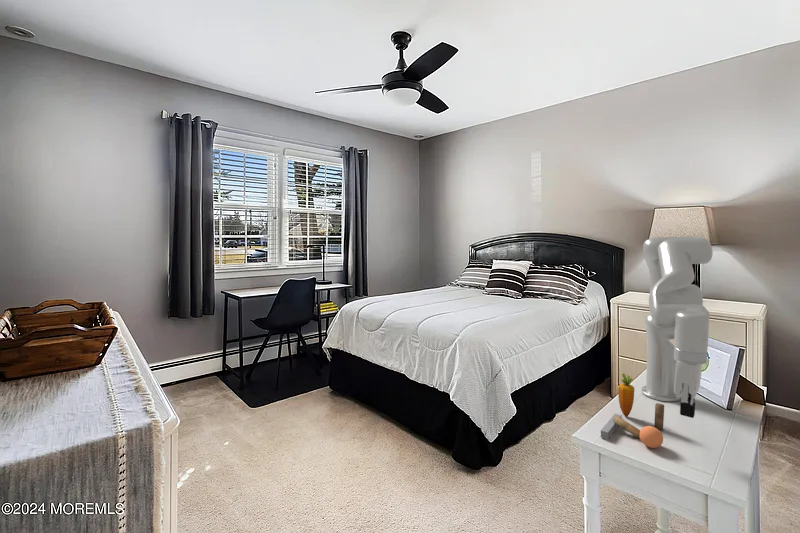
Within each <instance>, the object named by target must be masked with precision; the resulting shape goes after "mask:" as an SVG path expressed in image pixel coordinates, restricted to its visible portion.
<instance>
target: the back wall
mask: <svg viewBox="0 0 800 533" xmlns="http://www.w3.org/2000/svg"><path fill="white" fill-rule="evenodd" d="M616 415H617V416H619V417H621V418H622V419H623V416H622V415H623V414H618V413H614V414H612V417H611V418H610V419H609V420H608V421H607V423H605V425H604V426H603V427H602V428H601V430H600V438H601V437H602V438H604V439H603V440H605V439H607V440H606V441H608V440H609V439H610V438H611V437H612V435H613V434H614V433H615V431H617V429H618V428H619V427H620V426H619V425H618V424H616V423H615V422H613V419H614V417H615V416H616ZM610 436H611V437H610ZM609 437H610V438H609ZM602 438H601V439H602Z"/></svg>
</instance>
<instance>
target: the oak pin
mask: <svg viewBox="0 0 800 533" xmlns="http://www.w3.org/2000/svg"><path fill="white" fill-rule="evenodd" d="M613 422H615V423H616V424H618V425H619V426H618V427H621V428H622V429H624V430H625V431H626V432H628V433H629V434H631V435H632V436H634V437H635V438H637V439H640V436H639V433H640V430H641V429H639V428H637V427H636V426H634V425H633V424H631V423H630V422H628V421H626V420H625V419H624V418H623V417H622V418H621V417H619V416H617V415H616V416H615V417H614V419H613Z"/></svg>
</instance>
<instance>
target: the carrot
mask: <svg viewBox="0 0 800 533" xmlns="http://www.w3.org/2000/svg"><path fill="white" fill-rule="evenodd" d="M621 376H622V378H621V379H620V380H621V382H622V383H620V384H619V385H618V390H617V392H618V403H619V408H620V410H621V412H622V415H623V416H624V417H626V418H627V417H628V416H629V415H630V414H631V412H632V409H633V407H634V406H633V405H634V400H635V386H634V385H632V384H631V382H632V380H633V378H632V377H630V375H627V376H626V375H625V373H624V372H623V373H621Z"/></svg>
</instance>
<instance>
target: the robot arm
mask: <svg viewBox="0 0 800 533" xmlns="http://www.w3.org/2000/svg"><path fill="white" fill-rule="evenodd" d="M642 251H643V252H642V253H643V258H644V260H645V263H646V265H647V268H648V270H649V295H648V296H649V297H648V305H649V306H648V308H649V314H648V315H647V316H646V317H645V319H644V326H645V332H646V334H645V335H646V347H647V348H646V380H645V381H646V383H645V384H646V385H644V386H642V387H641V394H643V395H645V396H646V397H647V398H649V399H653V400H657V401H662V402H670V403H671V402H677V401H680V404H679V406H680V408H679V415H680V416H684V417H688V418H690V419H691V418H692V419H694V417H695V410H696V402H695V401H696V400H695V399H696V396H697V394H698V392H699V390H700V385H701V379H702V365H705V364H707V362H708V345H709V330H710V312H709V310H708V309H707V307H705V306H704V301H703V292H702V290H701V288H700V287H699V285H696V284H692V283H693V282H694V281H695V271H694V267H693V265H704V264H708V263H709V262H711V261H712V257H713V255H714V254H713V253H714V252H713V251H714V250H713V247H712V244H711V243H710V241H709V240H708V239H707V238H705V237H702V236H701V237H700V236H659V237H650V238H648V239H646V240H645V241H644V242H643V245H642ZM670 340H674V342H673V343H674V344H673V343H672V342H671V341H670Z"/></svg>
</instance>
